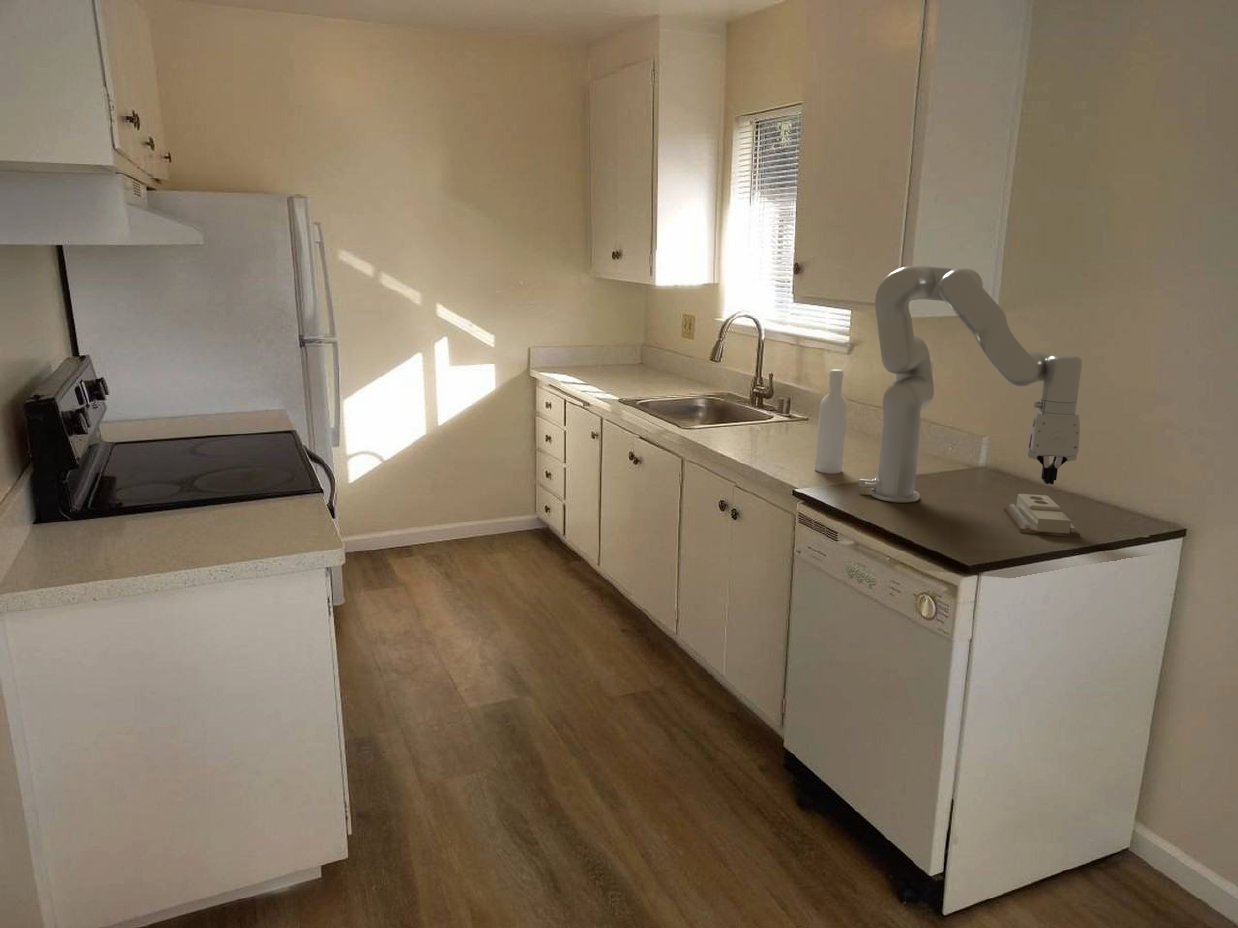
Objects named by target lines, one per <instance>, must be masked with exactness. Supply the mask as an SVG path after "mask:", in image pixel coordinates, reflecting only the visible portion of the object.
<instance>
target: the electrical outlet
mask: <svg viewBox="0 0 1238 928" xmlns="http://www.w3.org/2000/svg"><path fill="white" fill-rule="evenodd" d="M1016 498H1017V499H1016V504H1015V506H1016V507H1017V509H1018V510H1019V511H1020V513H1021V514H1022V515H1023V517H1024V518H1025V519H1026V520H1027V521H1028V522H1029V524H1030V525H1031V526H1032V527H1033V528H1034V529H1035V530H1036V531H1040V532H1055V533H1069V532H1070V526H1071V524H1072V520H1071V519H1070V517H1068V515H1066V514H1065V513H1063V511H1062V508H1061V507H1060V505H1059V504H1057V503H1056V502H1055V501H1054V500H1053V499H1052V498H1051V497H1049V496H1048V495H1045V494H1044V495H1042V494H1029V493H1018V494H1017V497H1016Z"/></svg>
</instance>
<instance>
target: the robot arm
mask: <svg viewBox="0 0 1238 928" xmlns="http://www.w3.org/2000/svg"><path fill="white" fill-rule="evenodd" d="M983 285H984V283H983V278H982V277H981V275H980V274H979V273H978V272H977V271H975V270H973V269H971V268H953V267H952V268H951V267H939V266H927V265H925V266H924V265H909V266H908V265H907V266H904V267H899V268H897V269H895V270H894V271H892V272H890V273H889V274H887V276H886V277H884V278H883V280H882V281H881V282H880V284H879V286H878V287H877V289H876V293H875V299H874V309H875V316H876V324H877V330H878V331H877V335H878V340H879V348H880V355H881V362H882V365H883V368H884V369H886V371H888V372H889V373H890V374H894V375H895V378H896V379H895V381H894V382H892V383H891V384H890V385H888V387H887V388H886V390H885V391H884V393H883V397H882V429H881V442H880V443H881V444H880V452H879V453H880V454H879V464H878V472H877V473H878V474H877V475H876V476H875V478H871V479H867V478H859V482H858V483H859V484H858V485H859V486H860V487H864V488H870V493H869V494H870V495H871V496H872V497H873V498H875V499H877V500H881V501H884V502H890V503H891V502H892V503H913V502H917V501H919V500H920V497H921V495H920V493H919V492H918V491H916V490H915V486H916V475H917V467H918V460H919V459H918V458H919V447H920V438H921V422H922V421H921V411H922V410H923V409H925V408H927V407H928V406H930V404H931V402H932V400H933V399H934V394H935V387H934V380H933V379H934V378H933V370H932V362H931V357H930V351H929V348H928V345H927V344H926V342H925V341H924V340H923V339H922V338H921V337H919V336H916V335H915V334H914V327H913V318H912V315H911V311H910V308H909V304H910V302H912V301H916V300H929V301H939V302H945V304H946V305H947V306H948V307H949V308H950V309H951V310H952V312H953V313H954V314H955V315H956V316H957V317H958V319H959V320H960V321H961V322H962V323H963V324H964V325H965V327H966V328H967V329H968V330H969V331H970V333H971V334H972V335H973V336H974V339H975V341H976V342H977V343H978V345H979V347H980V348H981V350H982V352H983V353H984V354H985V355H986V357H987V359H988V360H989V361H990V362H991V363H992V365H993V366H994V367H995V368H996V369H997V370H998V372H999V373H1000V374H1001V376H1003V377H1004V378H1005V380H1007V381H1008V382H1009V383H1010V384H1012V385H1014V386H1017V387H1027V386H1030V385H1032V384H1034V383H1040V382H1041V383H1043V385H1042V393H1041V398H1040V400H1039V401H1034V403H1033V408H1036V409H1039V410H1038V411H1037V412H1036V414H1035V416H1034V419H1033V422H1032V423H1033V424H1032V427H1031V430H1030V434H1029V435H1030V436H1029V440H1028V441H1029V442H1028V451H1027V454H1026V456H1027V457H1028V458H1029V459H1033V460H1036V461H1038V462H1039V463H1040V464H1041V465H1042V469H1041V477H1040V478H1041V480H1042V481H1043V483H1044V484H1046V485H1049V484H1050V485H1054V484H1055V481H1057V479H1058V478H1057V477H1058V469H1060V468H1061V466H1062V465H1063V464H1065V463H1067V462H1072V461H1076V460H1077V455H1078V453H1079V450H1080V449H1079V448H1080V430H1081V429H1080V427H1081V422H1080V415H1079V414H1077V413H1076V412H1077V411H1076V410H1077V404H1078V395H1079V389H1080V383H1081V381H1080V380H1081V374H1082V373H1081V372H1082V367H1083V365H1082V364H1083V361H1082V359H1081V358H1080V357H1079V356H1077V355H1071V354H1050V353H1043V352H1039V351H1033V350H1031V351H1030V350H1029V351H1027V350H1026V349H1025V348H1024V347H1023V346H1022V344H1021V343H1020V342H1019V341H1018V339H1017V338H1016V337H1015V336H1014V334H1013V332H1012V331H1011V329H1010V327H1009V324H1008V321H1007V319H1008V318H1007V317H1006V316H1007V315H1006V313H1005V311H1004V310H1003V309H1002V307H1001V306H1000V305H999V304H998V303H997V302H996V301H995V300H994V299H993V297H991V295H990V294H989V293H988V291H986V289H985V288H984V287H983ZM1050 457H1053V458H1052V461H1051V463H1050Z"/></svg>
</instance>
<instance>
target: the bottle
mask: <svg viewBox="0 0 1238 928" xmlns="http://www.w3.org/2000/svg"><path fill="white" fill-rule="evenodd" d="M828 376H829V381H828V382H829V383H828V393H827V394H826V395H825V396H823V398H822V399H821V402H820V404H819V412H818V413H819V415H818V416H819V417H818V426H817V427H818V428H817V441H816V453H815V454H816V455H815V459H814V461H815V462H814V465H815V466H814V470H815V471H816V472H819V473H821V474H829V475H831V474H832V475H833V474H834V475H835V474H836V475H837V474H840V473H842V471H843V467H844V466H843V465H844V451H845V439H846V429H847V428H846V427H847V418H848V417H847V416H848V408H849V407H848V402H847V399H846V398H845V397H844V396H843V395H842V389H843V388H842V387H843V377H844V370H842V369H838V368H833V369H830V371H829V375H828Z"/></svg>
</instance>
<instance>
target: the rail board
mask: <svg viewBox="0 0 1238 928" xmlns="http://www.w3.org/2000/svg"><path fill="white" fill-rule="evenodd" d="M1003 511H1004V512H1005V514H1006V515H1007V517H1008V518H1009V519H1010V521H1011V522H1012V523H1013V525H1014V526H1015V528H1016V529H1017V531H1018V533H1023V534H1033V535H1045V536H1058V537H1070V538H1080V537H1081V533H1080V532H1079V530H1078V529H1077V528H1076V527H1075V526H1074V525H1073V524H1072V523H1071V526H1070V532H1069V533H1055V532H1040V531H1036V530H1035V529H1034V528H1033V527H1032V526H1031V525H1030V524H1029V522H1028V521H1027V520H1026V519H1025V518H1024V517H1023V515H1022V514H1021V513H1020V511H1019V510H1018V509H1017V507H1016V504H1014V503H1009V506H1004V509H1003Z"/></svg>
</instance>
